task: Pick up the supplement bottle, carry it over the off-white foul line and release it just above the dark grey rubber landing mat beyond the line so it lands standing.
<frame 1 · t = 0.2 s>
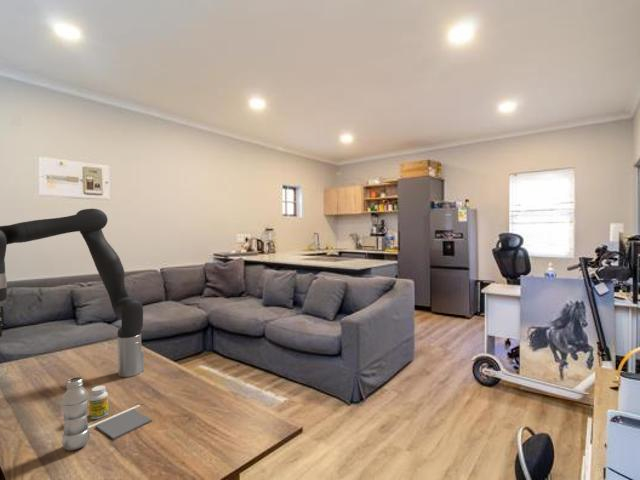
landing mat: (124, 424, 111), on the table
supplement bottle: (99, 416, 117), on the table
foul line: (110, 418, 114), on the table
plastic bottle: (76, 447, 99), on the table
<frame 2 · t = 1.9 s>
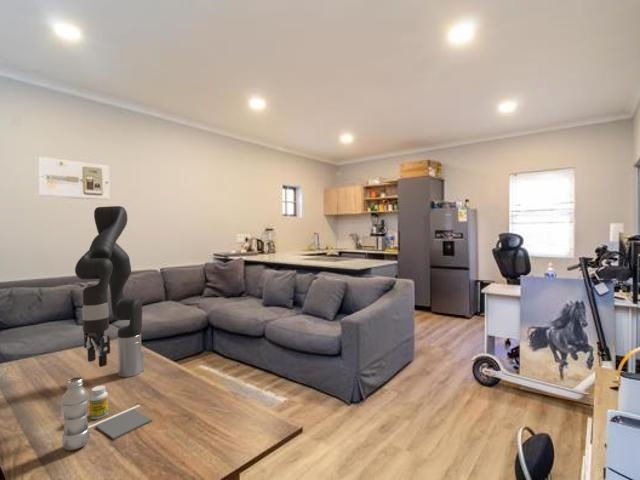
hand: (97, 363, 116), 18 cm above the table, fingers open, 8 cm apart
nothing on the table moved.
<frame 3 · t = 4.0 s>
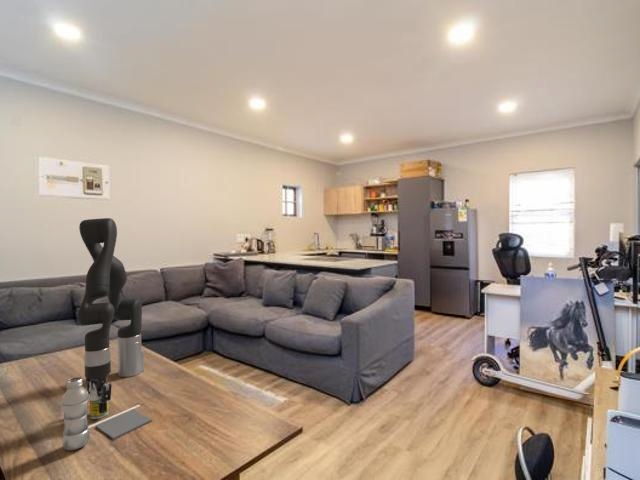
hand: (99, 409, 116), 2 cm above the table, fingers closed on supplement bottle, 5 cm apart
supplement bottle: (99, 415, 117), on the table, touching gripper
everything else where it was.
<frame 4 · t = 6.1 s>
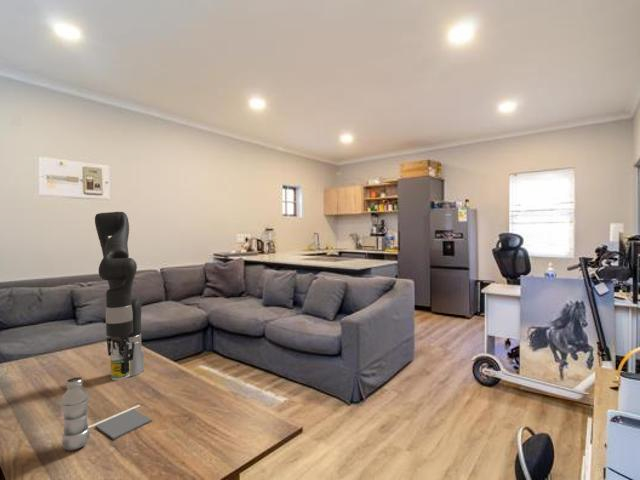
hand: (120, 370, 110), 18 cm above the table, fingers closed on supplement bottle, 5 cm apart
supplement bottle: (120, 377, 110), point 16 cm above the table, touching gripper
everything else where it was.
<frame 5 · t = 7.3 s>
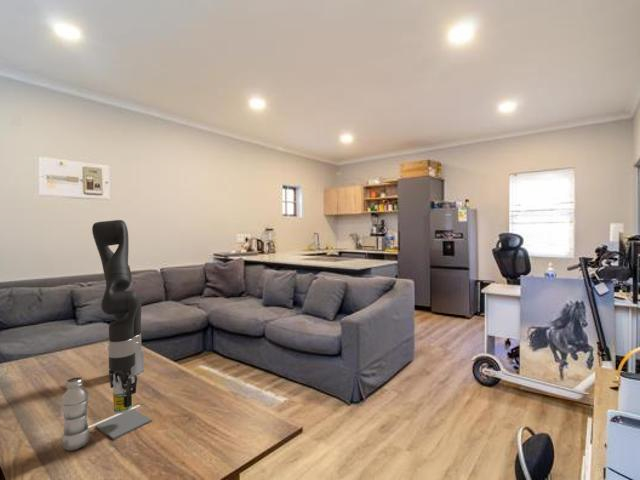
hand: (123, 403, 111), 7 cm above the table, fingers closed on supplement bottle, 5 cm apart
supplement bottle: (123, 410, 111), point 5 cm above the table, touching gripper
everything else where it was.
when the fingers open (4 cm above the table, at t = 8.1 s): supplement bottle drops 1 cm, resting on landing mat.
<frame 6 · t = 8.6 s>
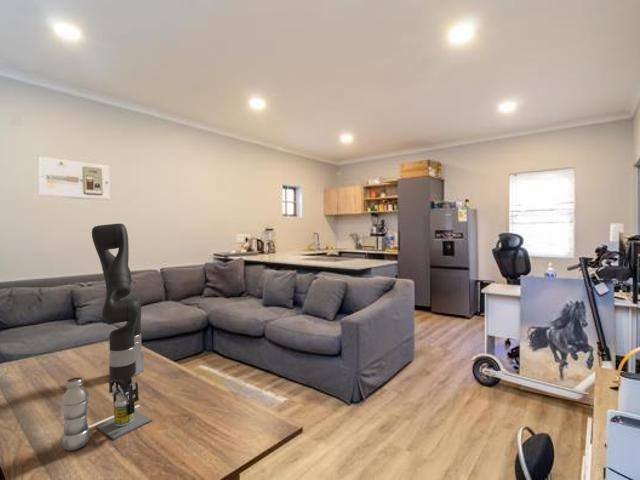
hand: (123, 410, 111), 5 cm above the table, fingers open, 8 cm apart
supplement bottle: (124, 422, 111), resting on landing mat
everything else where it was.
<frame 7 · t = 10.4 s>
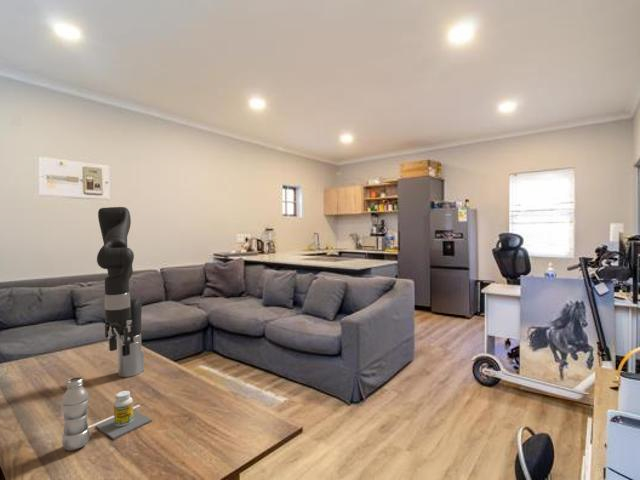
hand: (119, 352, 116), 22 cm above the table, fingers open, 8 cm apart
nothing on the table moved.
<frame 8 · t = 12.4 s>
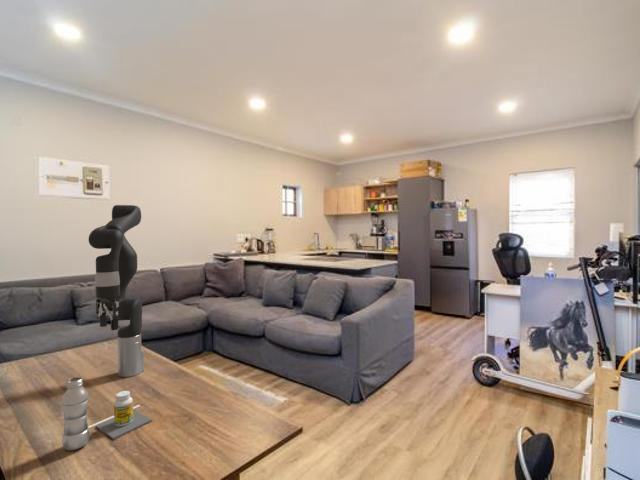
hand: (108, 328, 124), 28 cm above the table, fingers open, 8 cm apart
nothing on the table moved.
at the end: supplement bottle inside the target area on the landing mat (0.2 cm from its centre), point 0.4 cm above the landing mat's base; supplement bottle tilted 0°; the gripper is holding nothing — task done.
